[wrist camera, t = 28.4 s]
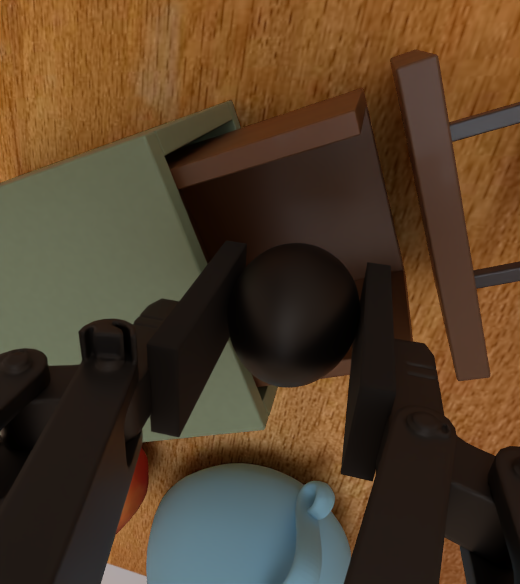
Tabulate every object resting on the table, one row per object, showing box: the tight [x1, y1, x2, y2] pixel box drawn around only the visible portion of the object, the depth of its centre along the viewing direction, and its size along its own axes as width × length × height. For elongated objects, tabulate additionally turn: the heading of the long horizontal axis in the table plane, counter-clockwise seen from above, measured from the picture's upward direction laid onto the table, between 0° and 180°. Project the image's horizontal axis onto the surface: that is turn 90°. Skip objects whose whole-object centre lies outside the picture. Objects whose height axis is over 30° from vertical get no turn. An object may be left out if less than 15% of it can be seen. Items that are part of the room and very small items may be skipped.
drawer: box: [164, 50, 520, 387], centre depth 21 cm, size 19×12×9 cm, turn 109°
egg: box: [228, 243, 360, 387], centre depth 15 cm, size 4×4×5 cm
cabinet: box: [0, 100, 278, 442], centre depth 25 cm, size 15×13×11 cm
